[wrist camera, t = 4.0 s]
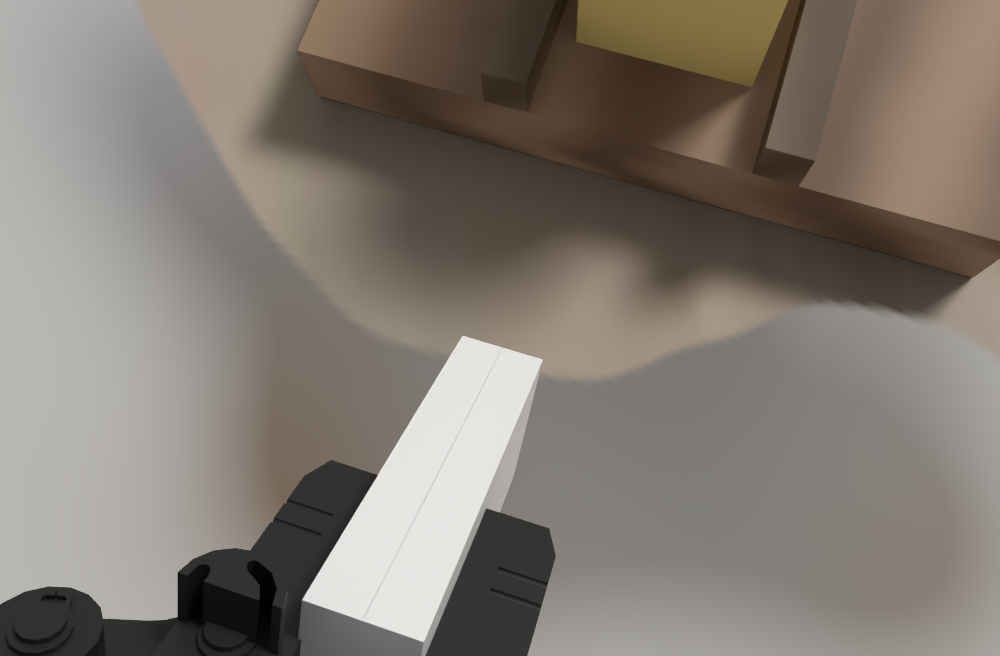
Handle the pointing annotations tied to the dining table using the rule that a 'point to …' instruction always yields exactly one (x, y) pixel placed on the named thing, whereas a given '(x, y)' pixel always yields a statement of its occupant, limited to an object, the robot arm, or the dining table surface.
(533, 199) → the dining table surface
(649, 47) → the ochre block
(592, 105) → the trap board
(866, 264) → the dining table surface
